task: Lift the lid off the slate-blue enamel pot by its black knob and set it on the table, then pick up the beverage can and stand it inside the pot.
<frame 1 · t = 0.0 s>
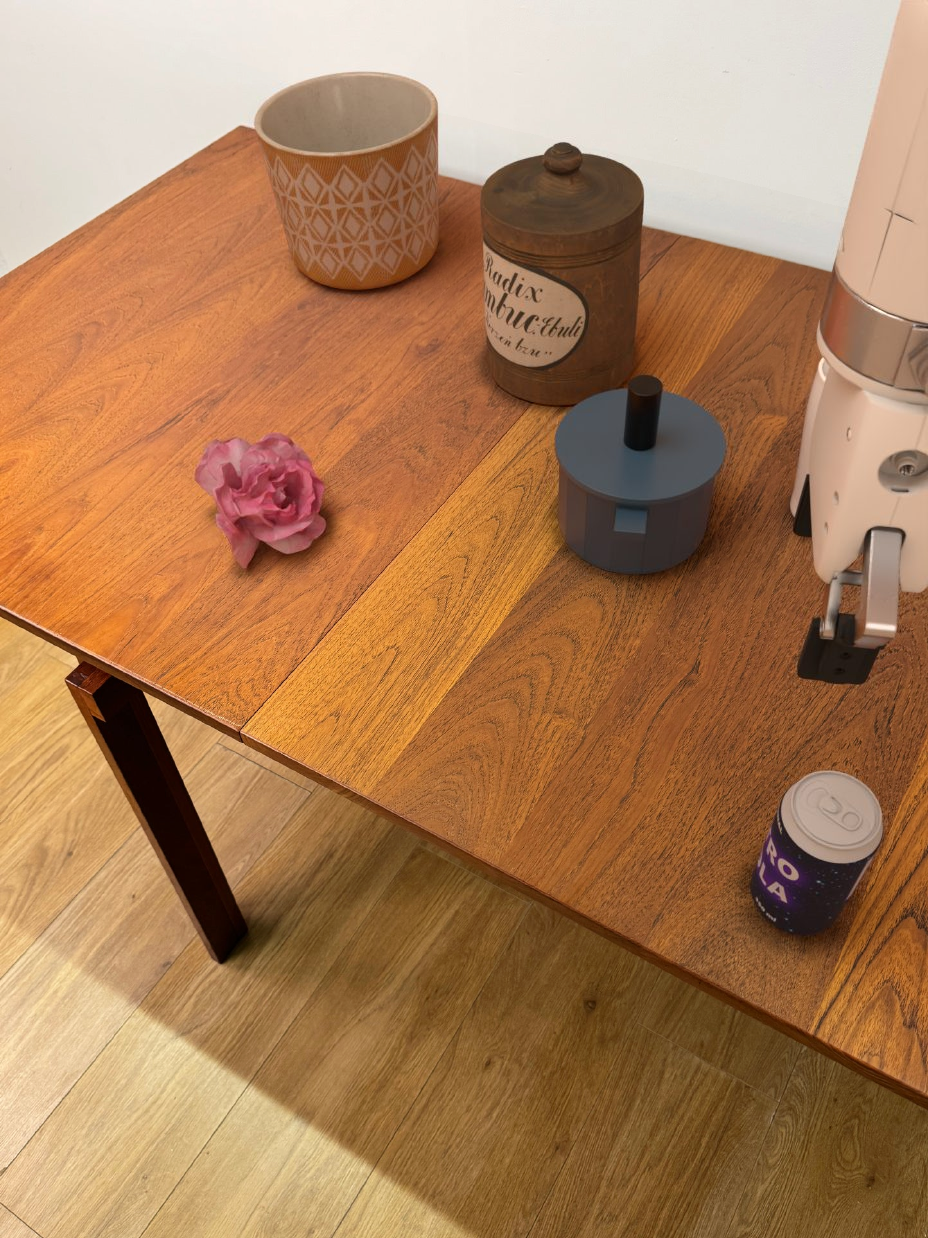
hand: (825, 601, 51), 22 cm above the table, tool pointing down, fingers open, 9 cm apart
flower: (276, 530, 89), on the table
planter: (366, 255, 117), on the table
beverage can: (792, 899, 65), on the table
pot lid: (639, 446, 80), point 8 cm above the table, touching pot
drinking glass: (819, 515, 86), on the table
pot: (631, 521, 87), on the table
wooden container: (559, 362, 102), on the table
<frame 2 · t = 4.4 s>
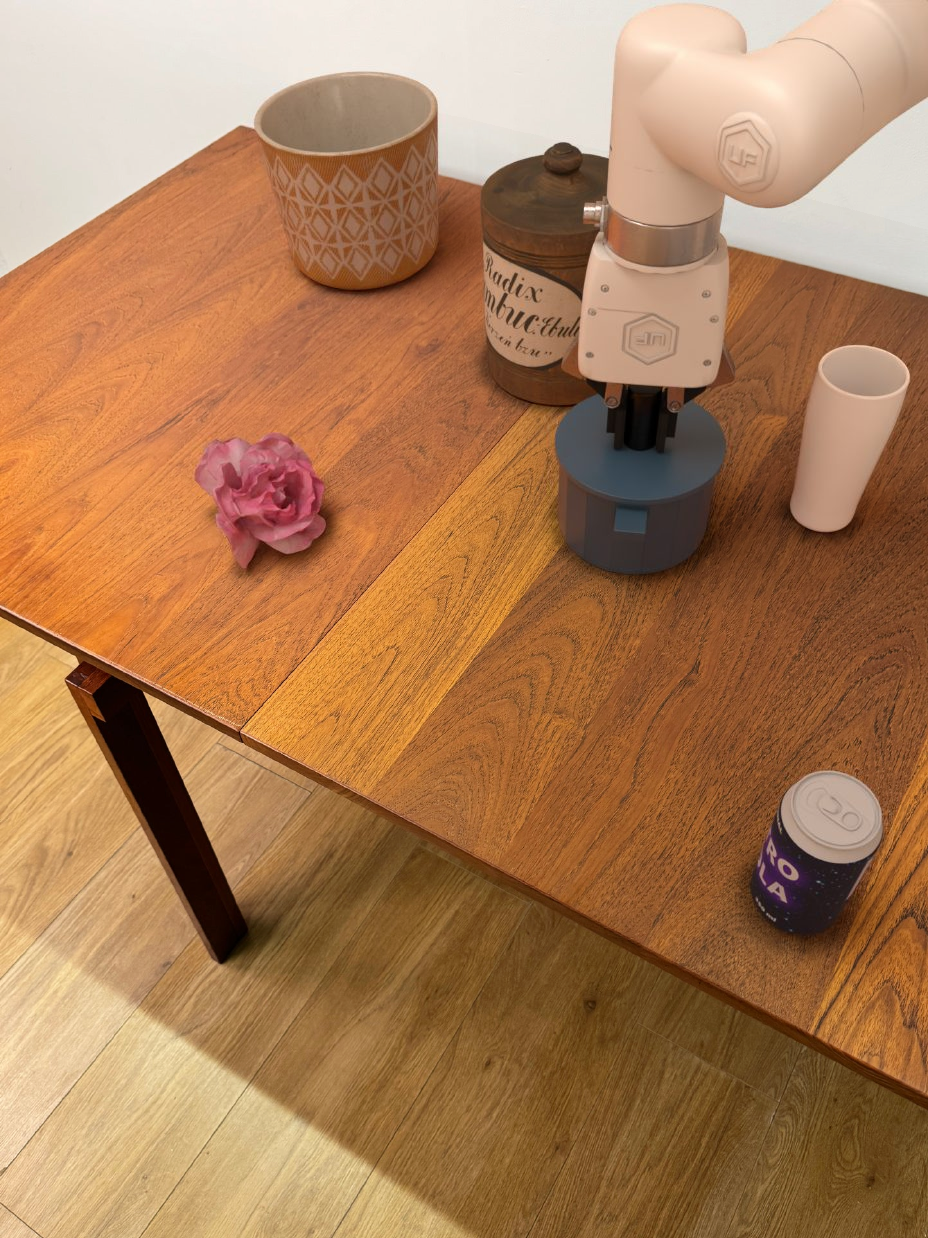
hand: (640, 437, 80), 9 cm above the table, tool pointing down, fingers closed on pot lid, 2 cm apart
pot lid: (639, 446, 80), point 9 cm above the table, touching gripper, pot
everything else where it was.
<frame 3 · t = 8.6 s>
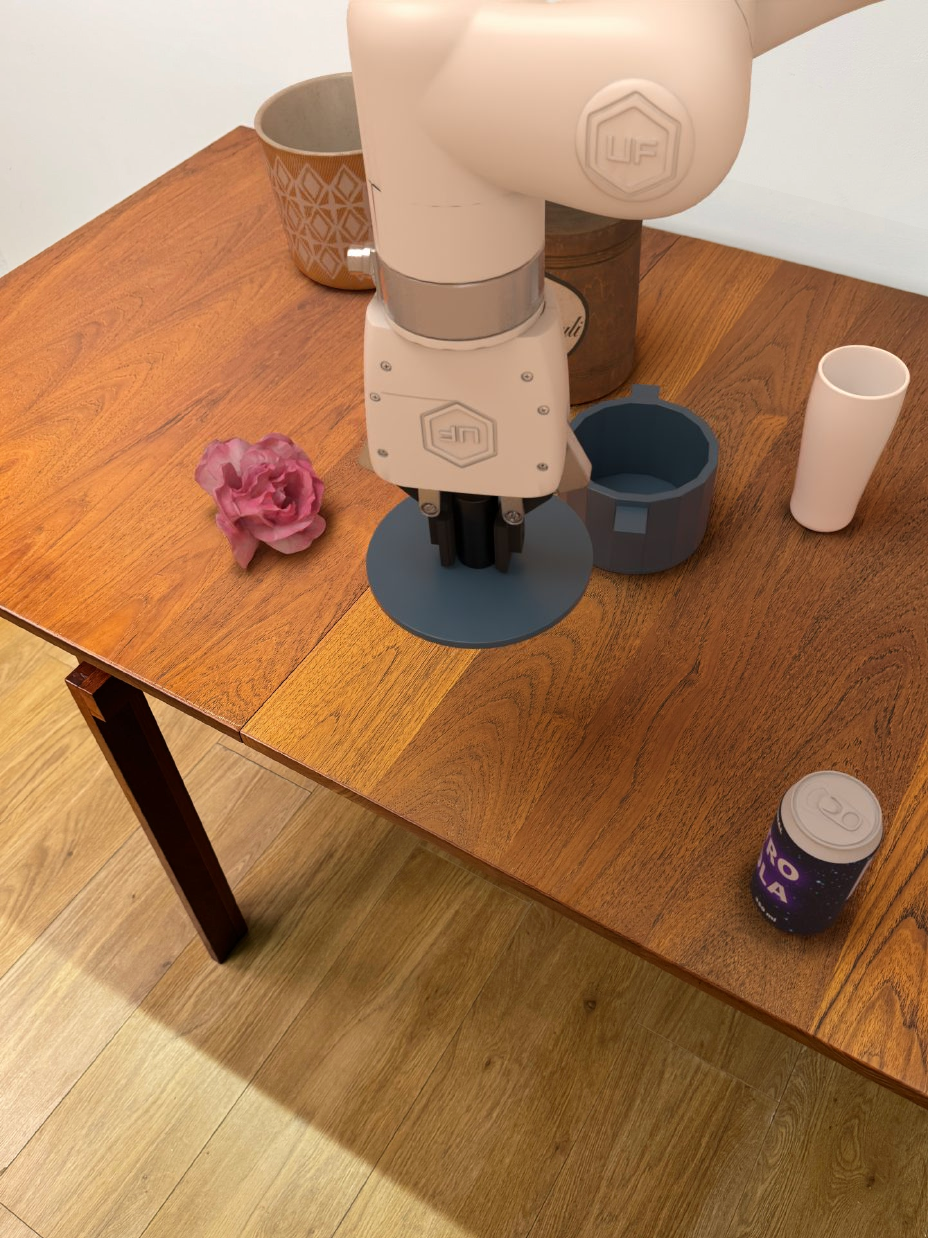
hand: (478, 550, 59), 19 cm above the table, tool pointing down, fingers closed on pot lid, 2 cm apart
pot lid: (479, 560, 60), point 18 cm above the table, touching gripper
everything else where it was.
when the fingers open (1 cm above the table, at t = 12.6 s): pot lid stays where it is, point 1 cm above the table.
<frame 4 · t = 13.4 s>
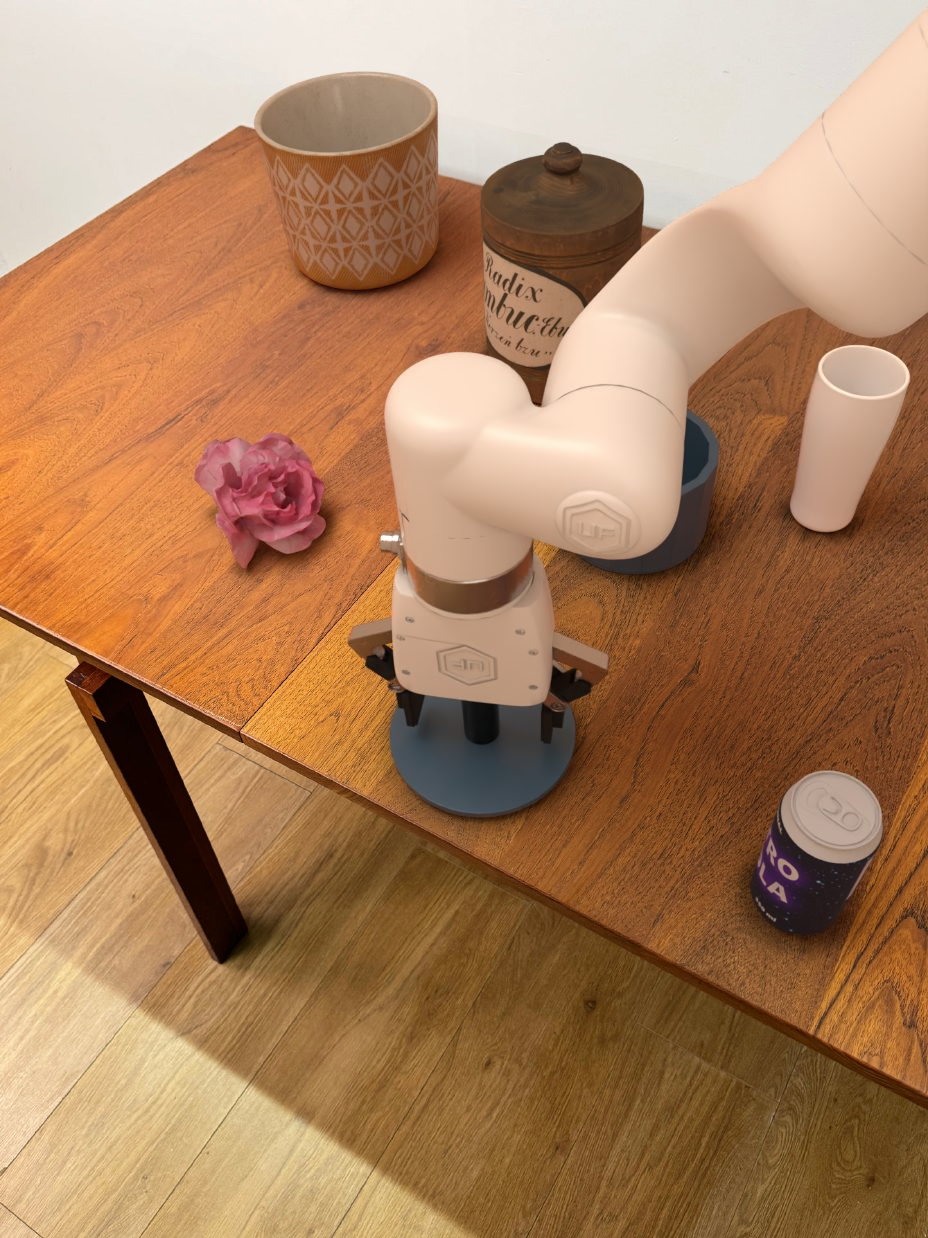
hand: (481, 718, 71), 3 cm above the table, tool pointing down, fingers open, 9 cm apart
pot lid: (482, 734, 73), point 1 cm above the table
everything else where it was.
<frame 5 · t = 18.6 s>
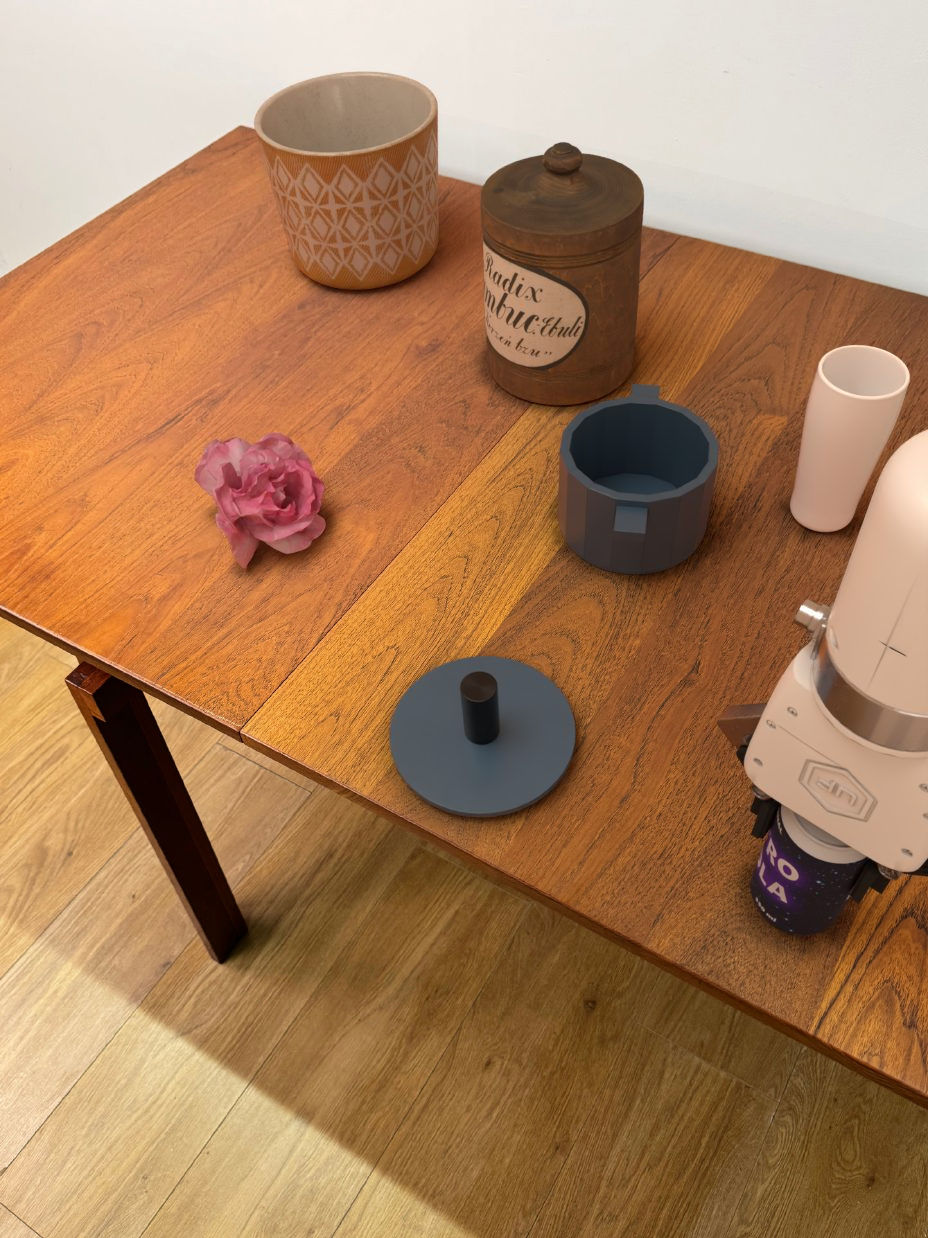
hand: (816, 849, 59), 7 cm above the table, tool pointing down, fingers closed on beverage can, 5 cm apart
beverage can: (792, 899, 65), on the table, touching gripper
everything else where it was.
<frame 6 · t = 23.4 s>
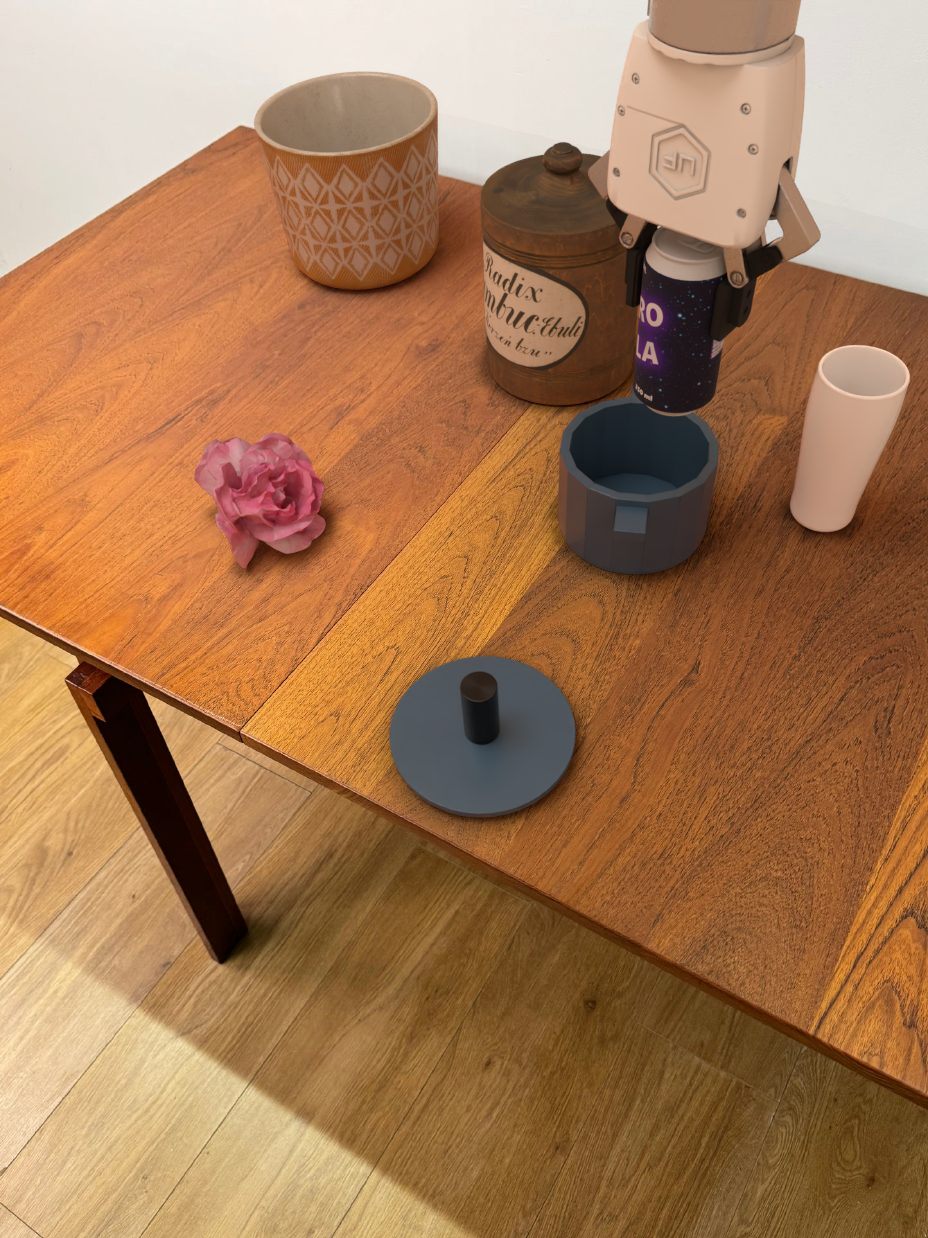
hand: (684, 310, 65), 24 cm above the table, tool pointing down, fingers closed on beverage can, 5 cm apart
beverage can: (672, 399, 70), point 17 cm above the table, touching gripper
everything else where it was.
when the fingers open (7 cm above the table, at t = 28.1 s): beverage can stays where it is, resting on pot.
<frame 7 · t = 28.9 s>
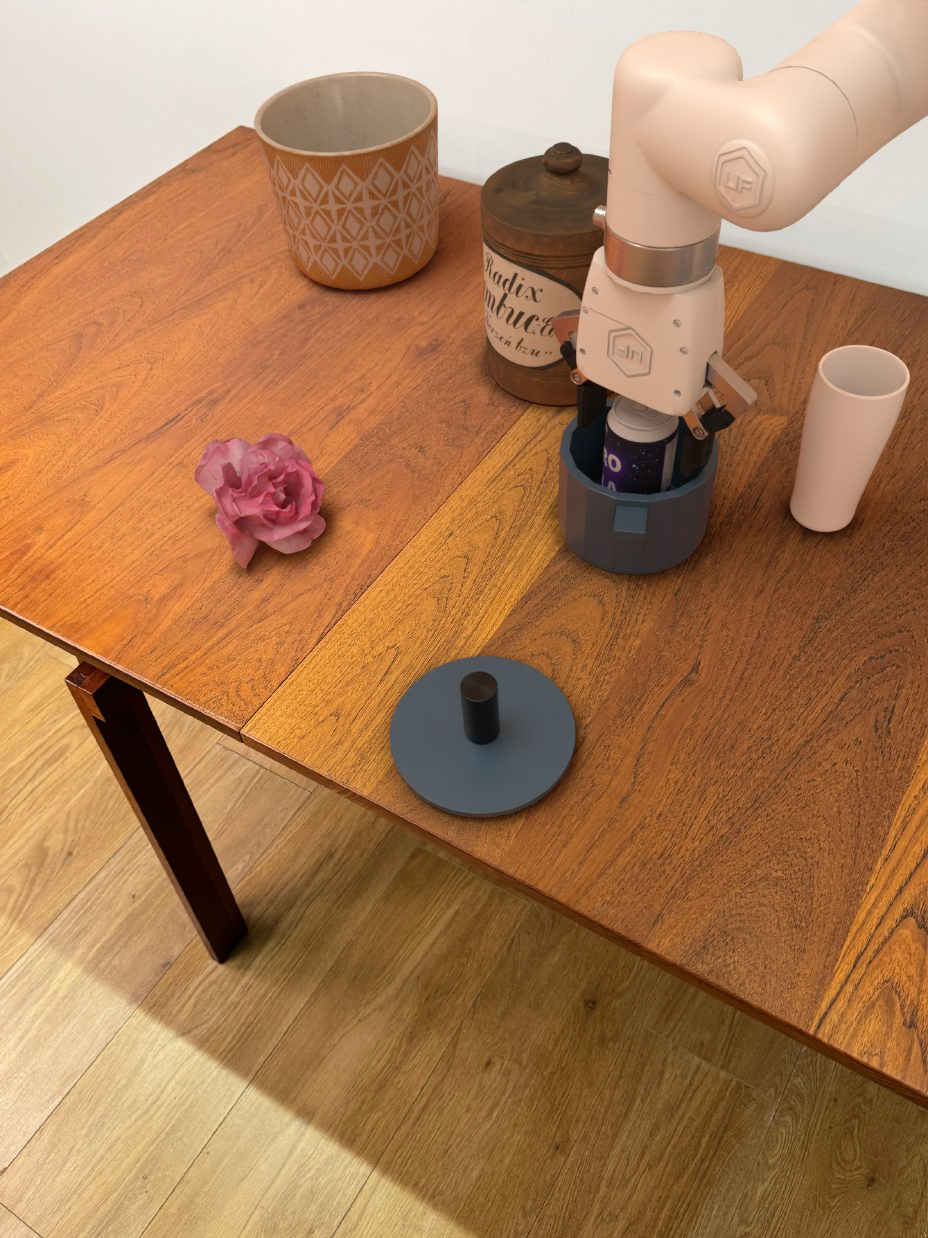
hand: (640, 441, 80), 9 cm above the table, tool pointing down, fingers open, 9 cm apart
beverage can: (632, 519, 87), resting on pot
everything else where it was.
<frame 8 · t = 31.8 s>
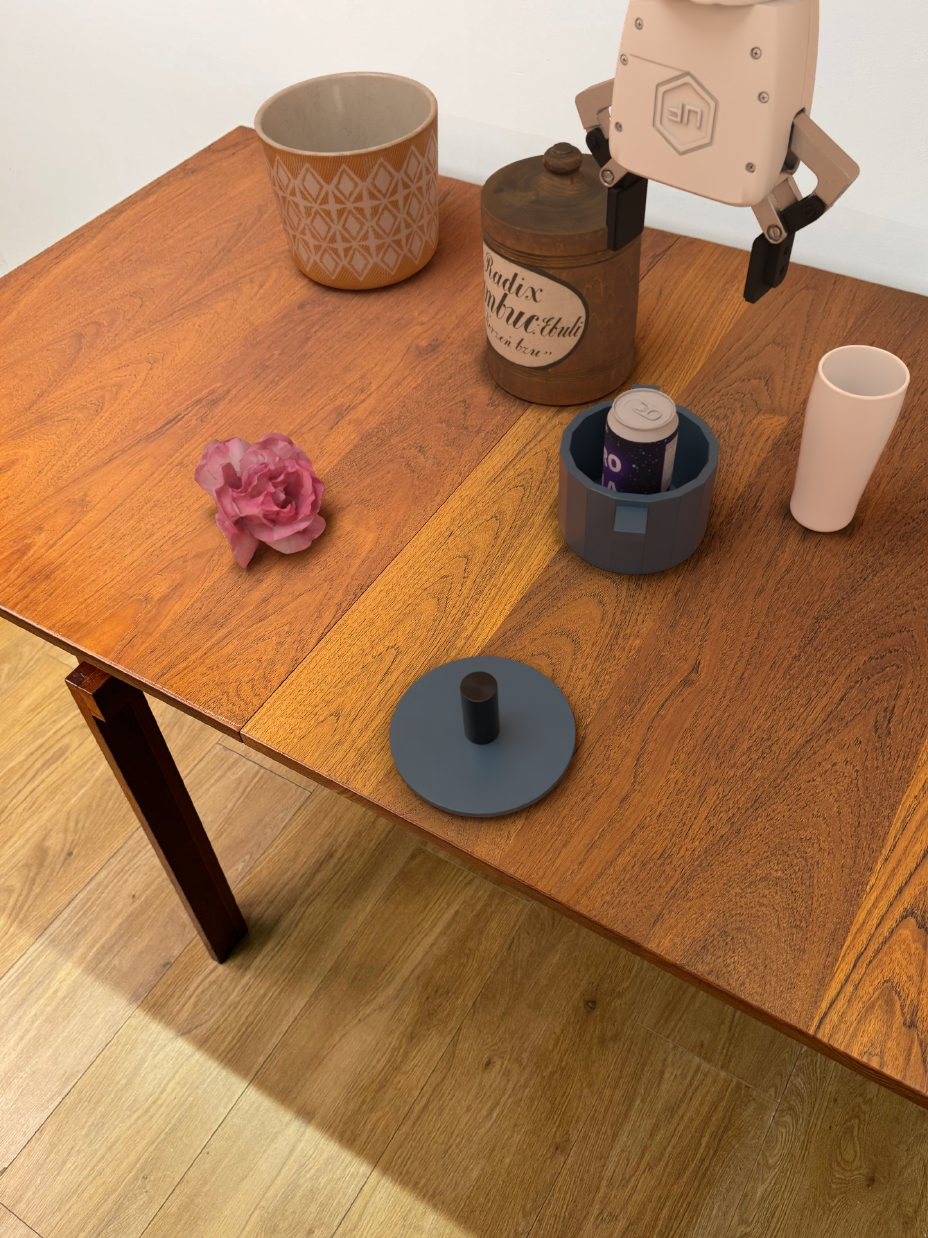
hand: (690, 265, 61), 28 cm above the table, tool pointing down, fingers open, 9 cm apart
nothing on the table moved.
at the end: pot lid inside the target area (0.0 cm from its centre), point 0.6 cm above the table; beverage can 0.1 cm off-centre in the pot, point 0.3 cm above the pot's base; beverage can tilted 0° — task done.
